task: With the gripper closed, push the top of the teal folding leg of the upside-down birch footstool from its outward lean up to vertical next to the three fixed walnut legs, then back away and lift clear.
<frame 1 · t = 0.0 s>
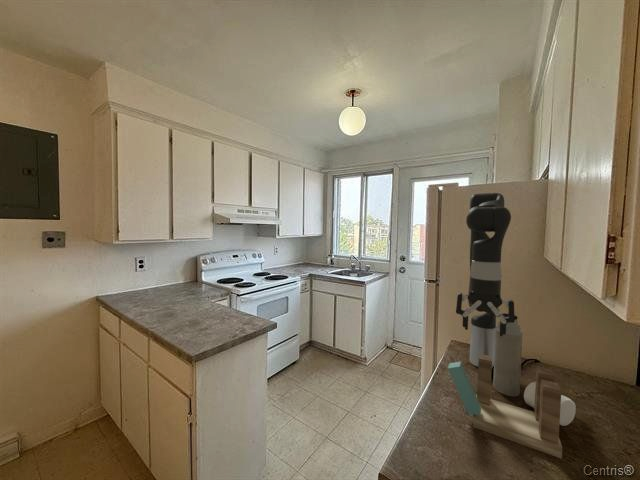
hand: (483, 332, 77), 29 cm above the countertop, tool pointing down, fingers open, 8 cm apart
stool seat: (512, 426, 79), on the countertop
mug: (552, 414, 85), on the countertop
thermos bottle: (505, 390, 98), on the countertop
folding leg: (463, 387, 82), point 10 cm above the countertop, hinge at 25.0°
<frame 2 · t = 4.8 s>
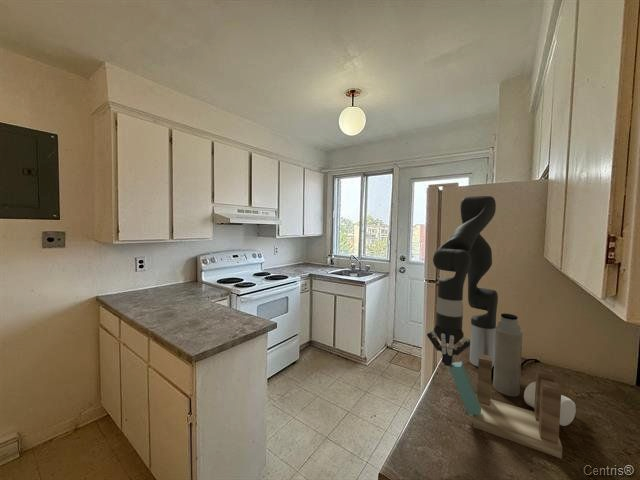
hand: (446, 364, 85), 16 cm above the countertop, tool pointing down, fingers closed
folding leg: (464, 387, 82), point 10 cm above the countertop, hinge at 23.5°, touching gripper
everything else where it was.
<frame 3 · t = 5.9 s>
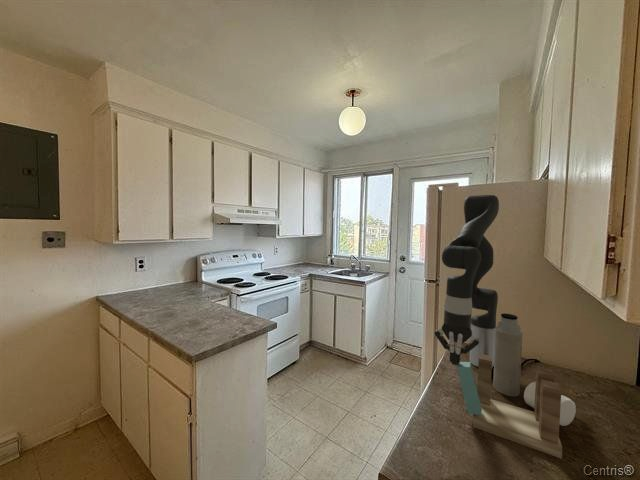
hand: (454, 363, 83), 17 cm above the countertop, tool pointing down, fingers closed
folding leg: (468, 387, 82), point 10 cm above the countertop, hinge at 14.3°, touching gripper
everything else where it was.
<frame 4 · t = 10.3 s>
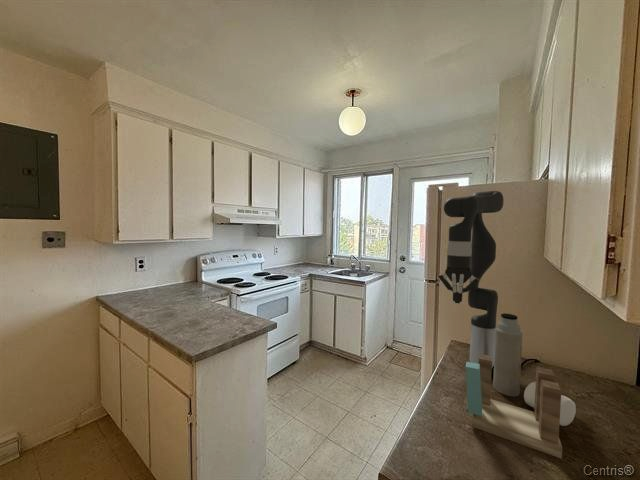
hand: (457, 302, 94), 33 cm above the countertop, tool pointing down, fingers closed
folding leg: (473, 388, 81), point 10 cm above the countertop, hinge at 4.8°
everything else where it was.
at the end: folding leg at +5° (first picture: +25°); mug moved 0.3 cm from its start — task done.
